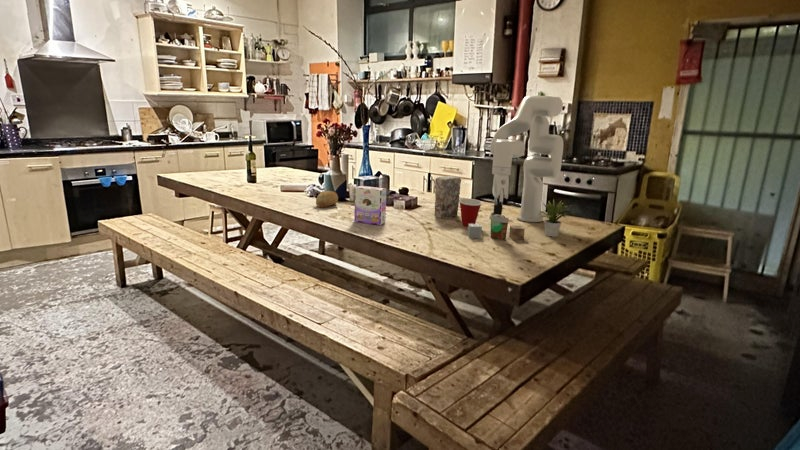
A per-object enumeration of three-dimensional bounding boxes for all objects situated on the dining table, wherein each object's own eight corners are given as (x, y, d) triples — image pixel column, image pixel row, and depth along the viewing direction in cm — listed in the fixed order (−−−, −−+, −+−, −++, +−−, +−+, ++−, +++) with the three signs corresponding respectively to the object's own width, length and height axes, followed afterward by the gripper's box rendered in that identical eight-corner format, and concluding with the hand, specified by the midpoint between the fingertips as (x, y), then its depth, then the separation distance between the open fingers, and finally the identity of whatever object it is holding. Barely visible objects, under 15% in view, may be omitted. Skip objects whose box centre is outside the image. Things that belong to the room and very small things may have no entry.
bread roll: (342, 204, 249) (342, 190, 247) (327, 209, 236) (327, 194, 234) (327, 202, 253) (327, 188, 251) (312, 207, 240) (311, 192, 238)
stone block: (443, 219, 224) (446, 178, 219) (432, 216, 228) (434, 177, 223) (459, 215, 233) (462, 176, 228) (448, 213, 238) (451, 175, 233)
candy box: (386, 223, 212) (387, 188, 208) (380, 225, 207) (381, 189, 203) (360, 219, 218) (360, 185, 214) (353, 221, 213) (354, 186, 209)
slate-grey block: (479, 235, 198) (479, 223, 197) (480, 238, 194) (481, 226, 192) (467, 234, 198) (468, 223, 197) (469, 238, 194) (470, 226, 192)
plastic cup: (465, 229, 206) (467, 203, 203) (452, 224, 216) (454, 199, 213) (485, 227, 211) (487, 202, 208) (471, 222, 220) (473, 197, 217)
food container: (484, 233, 202) (486, 211, 199) (498, 233, 202) (500, 211, 200) (492, 241, 190) (494, 217, 187) (506, 241, 190) (509, 218, 188)
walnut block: (520, 237, 198) (521, 225, 197) (523, 240, 193) (524, 228, 192) (509, 236, 198) (510, 225, 197) (511, 239, 193) (512, 227, 192)
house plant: (564, 242, 192) (569, 204, 188) (531, 236, 199) (535, 199, 195) (571, 235, 204) (576, 199, 200) (540, 230, 211) (544, 195, 207)
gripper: (514, 173, 182) (510, 218, 186) (506, 168, 196) (502, 210, 201) (495, 172, 182) (491, 217, 186) (489, 168, 196) (485, 209, 201)
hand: (497, 213), depth 193 cm, fingers closed
